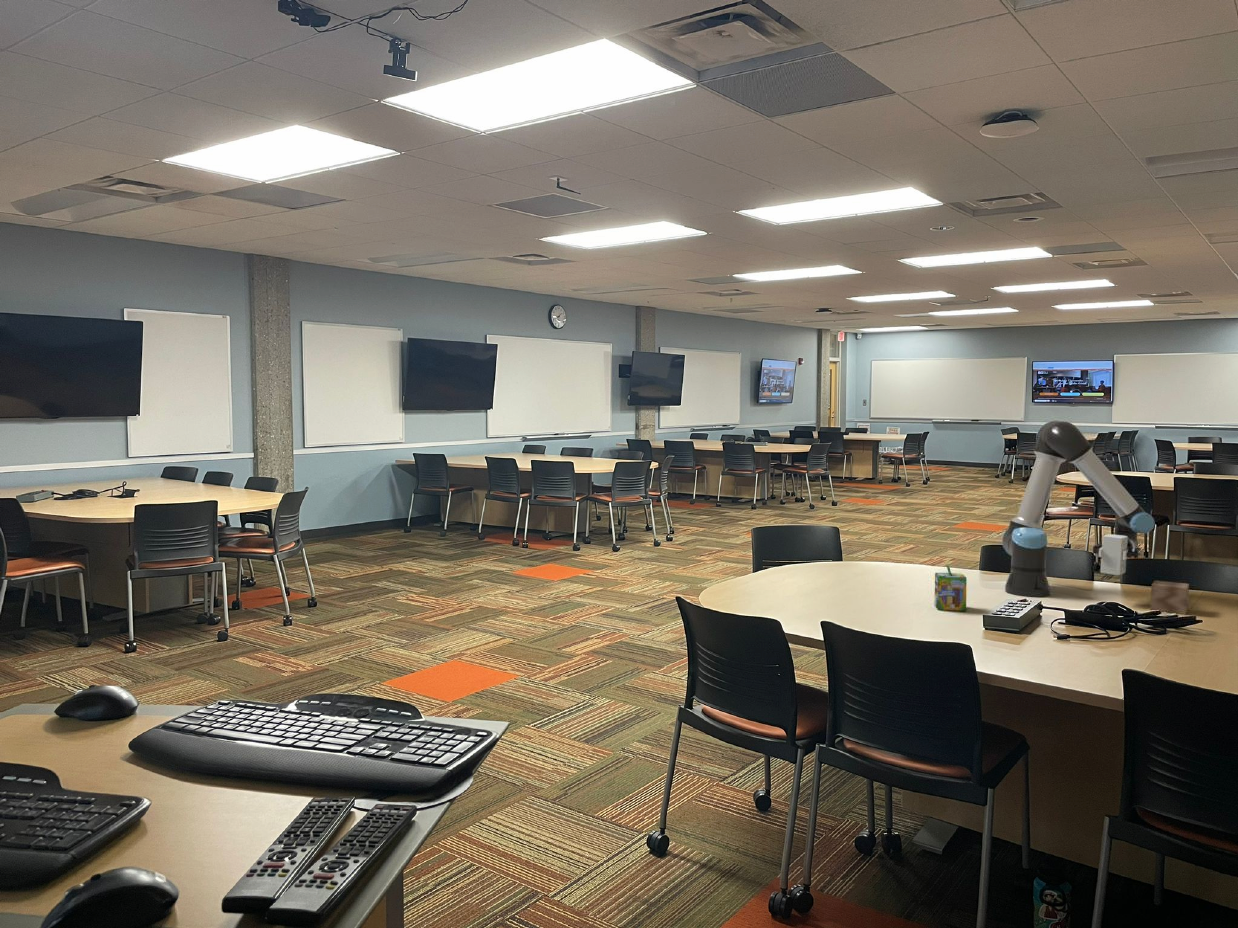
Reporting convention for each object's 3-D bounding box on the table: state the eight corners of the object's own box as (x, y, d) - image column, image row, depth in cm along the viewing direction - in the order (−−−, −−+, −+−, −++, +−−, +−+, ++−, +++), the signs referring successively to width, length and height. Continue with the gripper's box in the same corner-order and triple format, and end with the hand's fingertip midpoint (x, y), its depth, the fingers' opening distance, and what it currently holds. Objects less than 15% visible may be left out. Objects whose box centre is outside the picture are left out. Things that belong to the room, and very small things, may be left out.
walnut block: (1150, 611, 306) (1151, 584, 305) (1153, 606, 314) (1154, 580, 313) (1185, 615, 300) (1186, 588, 300) (1187, 610, 308) (1188, 583, 308)
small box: (1105, 570, 322) (1108, 533, 321) (1125, 572, 318) (1128, 535, 317) (1099, 572, 316) (1102, 535, 315) (1120, 575, 312) (1122, 538, 311)
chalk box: (966, 611, 301) (967, 567, 301) (937, 610, 303) (938, 566, 302) (961, 606, 311) (963, 563, 310) (933, 604, 312) (934, 562, 311)
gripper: (1151, 560, 325) (1143, 568, 307) (1090, 554, 337) (1079, 561, 318) (1153, 540, 325) (1145, 546, 306) (1092, 534, 336) (1081, 540, 318)
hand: (1111, 554), depth 312 cm, fingers closed on small box, 7 cm apart
